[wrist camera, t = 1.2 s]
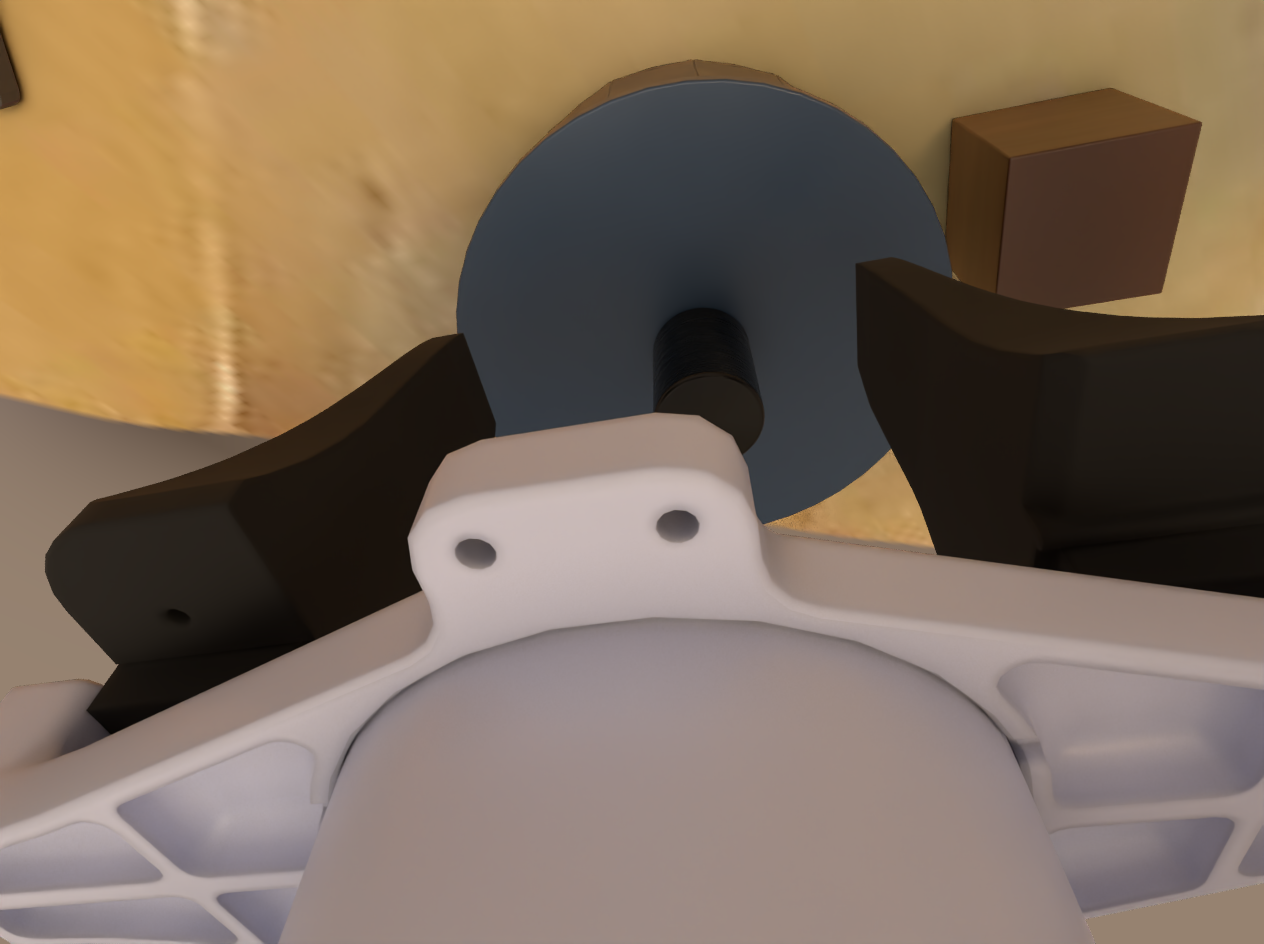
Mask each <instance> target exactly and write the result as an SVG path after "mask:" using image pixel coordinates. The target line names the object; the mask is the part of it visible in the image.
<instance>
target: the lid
mask: <svg viewBox="0 0 1264 944" xmlns="http://www.w3.org/2000/svg"><path fill="white" fill-rule="evenodd" d="M889 257H894V258H899V259H902V260H905V261H908V262H911V263H914V264H916V265H919V266H922V267H924V268H927V269H929V270H932V271H934V272H937V273H939V274H942V275H944V276H947V277H950V278H952V267H951V262H950V258H949V253H948V248H947V244H946V239H945V235H944V233H943V230H942V228H941V225H940V222H939V220H938V217H937V215H936V212H935V210H934V207H933V205H932V203H931V201H930V200H929V198H928V196H927V195H926V193H925V191H924V190H923V188H922V186H921V184H920V183H919V181H918V179H917V178H916V176H915V175H914V174H913V173H912V171H911V170H910V169H909V168H908V167H907V165H906V164H905V163H904V162H903V160H902V159H901V158H900V157H899V156H898V154H897V153H896V152H895V151H894V150H893V149H892V148H891V147H890V146H889V145H888V144H887V143H886V142H885V141H883V140H882V139H881V138H880V137H879V136H878V135H877V134H875V133H874V132H873V131H872V130H871V129H870V128H869V127H867V126H866V125H865V124H864V123H863V122H861V121H860V120H858V119H856V118H855V117H853V116H852V115H850V114H848V113H847V112H845V111H844V110H842V109H841V108H839V107H837V106H836V105H834V104H832V103H830V102H828V101H826V100H823V99H821V98H819V97H816V96H814V95H812V94H809V93H807V92H805V91H802V90H800V89H797V88H793V87H789V86H786V85H782V84H778V83H774V82H770V81H766V80H763V79H754V78H745V77H735V76H726V75H718V76H693V77H681V78H676V79H671V80H665V81H660V82H655V83H649V84H645V85H642V86H639V87H636V88H634V89H631V90H628V91H625V92H622V93H619V94H616V95H613V96H610V97H608V98H606V99H604V100H602V101H600V102H598V103H596V104H594V105H592V106H590V107H588V108H587V109H585V110H583V111H581V112H579V113H577V114H575V115H574V116H572V117H571V118H570V119H568V120H567V121H565V122H564V123H562V124H561V125H560V126H558V127H557V128H555V129H554V130H552V131H551V132H550V133H548V134H547V135H546V136H545V137H543V138H542V139H541V140H540V141H539V142H538V143H537V144H536V145H535V146H534V147H533V148H532V149H531V150H530V151H529V152H528V153H526V154H525V155H524V156H523V157H522V158H521V159H520V160H519V162H518V163H517V164H516V165H515V167H514V168H513V169H512V170H511V172H510V173H509V174H508V175H507V177H506V178H505V179H504V180H503V182H502V183H501V184H500V185H499V187H498V188H497V190H496V192H495V194H494V195H493V197H492V199H491V200H490V202H489V204H488V206H487V207H486V209H485V211H484V212H483V214H482V216H481V218H480V219H479V221H478V224H477V226H476V229H475V231H474V234H473V236H472V239H471V241H470V244H469V246H468V249H467V251H466V255H465V259H464V263H463V267H462V272H461V276H460V280H459V287H458V298H457V309H456V318H457V334H458V333H464V336H465V339H466V341H467V344H468V347H469V350H470V352H471V355H472V358H473V361H474V363H475V366H476V369H477V372H478V374H479V377H480V380H481V383H482V385H483V388H484V391H485V394H486V396H487V399H488V402H489V405H490V408H491V410H492V413H493V416H494V419H495V421H496V432H495V437H503V436H509V435H515V434H522V433H528V432H535V431H541V430H547V429H554V428H560V427H566V426H573V425H579V424H586V423H592V422H598V421H605V420H611V419H618V418H624V417H630V416H637V415H643V414H650V413H669V414H684V415H699V416H700V417H702V418H704V419H705V420H707V421H709V422H710V423H712V424H714V425H715V426H717V427H719V428H720V429H722V430H724V431H725V432H727V433H729V434H730V435H732V436H733V438H734V440H735V442H736V444H737V446H738V448H739V450H740V452H741V454H742V456H743V458H744V460H745V462H746V464H747V466H748V471H749V477H750V483H751V488H752V494H753V500H754V506H755V511H756V515H757V517H758V518H759V520H760V521H761V523H762V524H766V523H769V522H772V521H775V520H778V519H781V518H785V517H788V516H791V515H793V514H795V513H798V512H800V511H802V510H804V509H807V508H809V507H811V506H814V505H816V504H818V503H819V502H821V501H823V500H825V499H827V498H828V497H830V496H832V495H834V494H835V493H837V492H839V491H841V490H842V489H843V488H845V487H846V486H848V485H849V484H850V483H852V482H853V481H855V480H856V479H857V478H859V477H860V476H862V475H863V474H864V473H865V472H866V471H868V470H869V469H870V468H871V467H872V466H873V465H874V464H875V463H877V462H878V461H879V460H880V459H881V458H882V457H883V456H884V455H885V454H886V453H887V452H888V451H889V450H890V449H891V447H890V445H889V443H888V441H887V439H886V437H885V435H884V433H883V431H882V429H881V427H880V425H879V423H878V421H877V419H876V417H875V415H874V413H873V411H872V409H871V407H870V404H869V401H868V398H867V395H866V392H865V389H864V386H863V383H862V379H861V376H860V373H859V369H858V365H857V318H856V270H855V263H860V262H866V261H872V260H877V259H883V258H889Z"/></svg>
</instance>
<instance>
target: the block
mask: <svg viewBox="0 0 1264 944" xmlns="http://www.w3.org/2000/svg"><path fill="white" fill-rule="evenodd" d="M1201 126H1202V122H1200V121H1198V120H1195V119H1192V118H1190V117H1187V116H1184V115H1182V114H1179V113H1176V112H1174V111H1171V110H1169V109H1166V108H1163V107H1161V106H1158V105H1155V104H1153V103H1150V102H1148V101H1145V100H1142V99H1140V98H1137V97H1134V96H1132V95H1129V94H1126V93H1124V92H1121V91H1119V90H1116V89H1113V88H1108V89H1103V90H1098V91H1092V92H1087V93H1082V94H1077V95H1072V96H1067V97H1062V98H1056V99H1051V100H1046V101H1041V102H1036V103H1031V104H1026V105H1021V106H1015V107H1010V108H1005V109H1000V110H995V111H990V112H985V113H979V114H974V115H969V116H964V117H959V118H955V119H953V121H952V137H951V155H950V173H949V191H948V209H947V227H946V244H947V248H948V253H949V258H950V262H951V267H952V271H953V272H954V273H955V274H956V276H957V277H958V278H959V279H960V280H961V281H962V282H963V283H966V284H968V285H971V286H974V287H977V288H980V289H983V290H986V291H990V292H993V293H996V294H1000V295H1003V296H1006V297H1010V298H1013V299H1017V300H1021V301H1025V302H1030V303H1035V304H1040V305H1045V306H1050V307H1055V308H1060V309H1065V308H1071V307H1077V306H1083V305H1090V304H1096V303H1102V302H1108V301H1115V300H1121V299H1127V298H1133V297H1140V296H1146V295H1152V294H1158V293H1161V292H1162V289H1163V285H1164V281H1165V277H1166V273H1167V269H1168V264H1169V260H1170V256H1171V252H1172V248H1173V243H1174V239H1175V235H1176V231H1177V227H1178V223H1179V218H1180V214H1181V210H1182V206H1183V202H1184V197H1185V193H1186V189H1187V185H1188V181H1189V177H1190V172H1191V168H1192V164H1193V160H1194V156H1195V151H1196V147H1197V143H1198V139H1199V135H1200V131H1201Z"/></svg>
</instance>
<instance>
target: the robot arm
mask: <svg viewBox="0 0 1264 944" xmlns="http://www.w3.org/2000/svg"><path fill="white" fill-rule="evenodd" d="M855 270H856V318H857V365H858V369H859V373H860V376H861V379H862V383H863V386H864V389H865V392H866V395H867V398H868V401H869V404H870V407H871V409H872V411H873V413H874V415H875V417H876V419H877V421H878V423H879V425H880V427H881V429H882V431H883V433H884V435H885V437H886V439H887V441H888V443H889V445H890V447H891V449H892V451H893V453H894V455H895V457H896V459H897V461H898V463H899V465H900V467H901V468H902V470H903V472H904V474H905V476H906V478H907V480H908V482H909V484H910V486H911V488H912V490H913V492H914V494H915V497H916V499H917V501H918V503H919V506H920V508H921V510H922V513H923V516H924V519H925V522H926V525H927V527H928V530H929V533H930V536H931V539H932V542H933V544H934V547H935V550H936V553H937V555H933V554H927V553H919V552H912V551H903V550H897V549H889V548H882V547H874V546H866V545H859V544H851V543H843V542H836V541H829V540H821V539H813V538H806V537H799V536H791V535H784V534H778V533H775V532H774V531H772V530H770V529H769V528H767V527H766V526H764V525H763V524H762V523H761V521H760V520H759V518H758V517H757V515H756V511H755V506H754V500H753V494H752V488H751V483H750V477H749V471H748V466H747V464H746V462H745V460H744V458H743V456H742V454H741V452H740V450H739V448H738V446H737V444H736V442H735V440H734V438H733V436H732V435H730V434H729V433H727V432H725V431H724V430H722V429H720V428H719V427H717V426H715V425H714V424H712V423H710V422H709V421H707V420H705V419H704V418H702V417H700V416H699V415H684V414H669V413H650V414H643V415H637V416H630V417H624V418H618V419H611V420H605V421H598V422H592V423H586V424H579V425H573V426H566V427H560V428H554V429H547V430H541V431H535V432H528V433H522V434H515V435H509V436H503V437H496V438H495V432H496V421H495V419H494V416H493V413H492V410H491V408H490V405H489V402H488V399H487V396H486V394H485V391H484V388H483V385H482V383H481V380H480V377H479V374H478V372H477V369H476V366H475V363H474V361H473V358H472V355H471V352H470V350H469V347H468V344H467V341H466V339H465V336H464V333H458V334H453V335H447V336H442V337H436V338H432V339H430V340H427V341H425V342H423V343H422V344H420V345H418V346H417V347H415V348H414V349H412V350H411V351H409V352H408V353H406V354H405V355H403V356H402V357H401V358H399V359H398V360H396V361H395V362H394V363H392V364H391V365H389V366H388V367H387V368H385V369H384V370H383V371H381V372H380V373H378V374H377V375H376V376H374V377H373V378H372V379H370V380H369V381H367V382H366V383H365V384H363V385H362V386H360V387H359V388H357V389H356V390H354V391H353V392H351V393H350V394H348V395H347V396H345V397H344V398H342V399H341V400H340V401H338V402H337V403H335V404H334V405H332V406H331V407H329V408H328V409H326V410H324V411H323V412H321V413H319V414H318V415H316V416H314V417H313V418H311V419H309V420H308V421H306V422H304V423H302V424H300V425H298V426H296V427H295V428H293V429H291V430H289V431H287V432H285V433H283V434H281V435H279V436H277V437H275V438H273V439H271V440H269V441H267V442H264V443H262V444H260V445H258V446H255V447H253V448H251V449H249V450H247V451H244V452H242V453H240V454H238V455H236V456H233V457H231V458H228V459H226V460H223V461H221V462H218V463H215V464H213V465H210V466H208V467H205V468H202V469H199V470H196V471H194V472H190V473H187V474H184V475H182V476H179V477H176V478H173V479H170V480H166V481H163V482H160V483H156V484H152V485H149V486H145V487H142V488H138V489H134V490H131V491H127V492H123V493H120V494H117V495H113V496H109V497H105V498H100V499H96V500H94V501H92V502H90V503H89V504H88V505H87V506H86V507H85V508H84V509H83V510H82V512H81V513H80V514H79V515H78V516H77V517H76V518H75V519H74V520H73V521H72V522H71V523H70V524H69V525H68V526H67V527H66V528H65V529H64V530H63V531H62V532H61V533H60V534H59V536H58V537H57V538H56V539H55V540H54V541H53V543H52V545H51V546H50V548H49V550H48V552H47V553H46V557H45V558H46V560H45V573H46V576H47V579H48V581H49V584H50V586H51V589H52V591H53V593H54V595H55V596H56V598H57V599H58V600H59V601H60V603H61V604H62V606H63V607H64V608H65V610H66V611H67V612H68V613H69V614H70V615H71V616H72V617H73V618H74V620H76V622H77V623H78V624H79V625H80V626H81V627H82V628H83V629H84V630H85V631H86V632H87V633H88V634H89V636H90V637H91V638H92V639H93V640H94V641H95V642H96V643H97V644H98V645H99V646H100V647H101V648H102V649H103V651H104V652H105V653H106V654H107V655H108V656H109V657H110V658H111V659H112V660H113V661H114V662H115V664H119V665H118V666H117V668H116V670H115V671H114V672H113V674H112V675H111V676H110V678H109V679H108V681H107V682H106V683H105V685H104V686H103V685H102V684H99V683H96V682H94V681H91V680H84V679H73V680H65V681H57V682H49V683H40V684H33V685H24V686H17V687H13V688H12V689H11V690H10V691H9V692H8V693H7V695H6V696H5V697H4V698H3V699H2V701H1V702H0V937H2V938H3V939H5V940H6V941H8V942H10V943H11V944H1096V943H1095V941H1094V939H1093V936H1092V934H1091V932H1090V929H1089V927H1088V925H1087V922H1086V920H1085V919H1089V918H1093V917H1098V916H1104V915H1109V914H1113V913H1118V912H1123V911H1128V910H1133V909H1138V908H1143V907H1148V906H1153V905H1158V904H1163V903H1168V902H1173V901H1178V900H1183V899H1188V898H1193V897H1198V896H1203V895H1208V894H1213V893H1218V892H1223V891H1227V890H1232V889H1237V888H1242V887H1247V886H1252V885H1257V884H1262V883H1264V315H1257V316H1235V317H1214V318H1153V317H1132V316H1117V315H1108V314H1098V313H1089V312H1080V311H1073V310H1066V309H1060V308H1055V307H1050V306H1045V305H1040V304H1035V303H1030V302H1025V301H1021V300H1017V299H1013V298H1010V297H1006V296H1003V295H1000V294H996V293H993V292H990V291H986V290H983V289H980V288H977V287H974V286H971V285H968V284H966V283H963V282H960V281H957V280H955V279H952V278H950V277H947V276H944V275H942V274H939V273H937V272H934V271H932V270H929V269H927V268H924V267H922V266H919V265H916V264H914V263H911V262H908V261H905V260H902V259H899V258H894V257H889V258H883V259H877V260H872V261H866V262H860V263H855Z"/></svg>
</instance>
